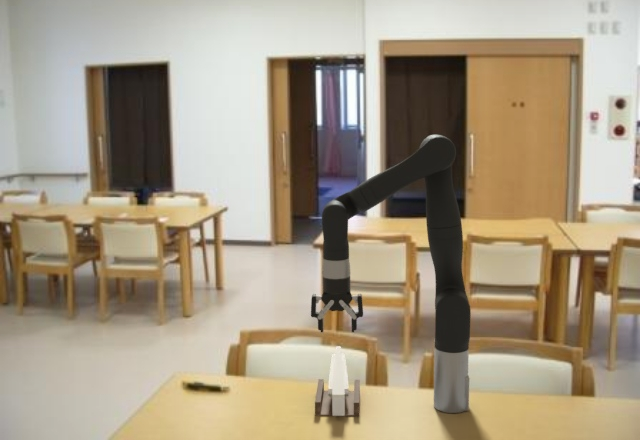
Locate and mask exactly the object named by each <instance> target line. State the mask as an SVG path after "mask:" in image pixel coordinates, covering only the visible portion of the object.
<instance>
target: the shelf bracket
mask: <svg viewBox="0 0 640 440" xmlns="http://www.w3.org/2000/svg"><path fill="white" fill-rule="evenodd" d="M330 360H331V361H330V366H329V367H330V368H329V376H328V387H327V388H328V390H327V391H328V394H329V396H332V415H333V416H332V417H346V416H345V396H349V391H350V390H349V377H348V367H347V360H346V354H345V353H343V352H342V347H341V346H340V345H339V346H337V345H335V351H334V353H331V359H330Z"/></svg>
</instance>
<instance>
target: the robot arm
mask: <svg viewBox="0 0 640 440" xmlns="http://www.w3.org/2000/svg"><path fill="white" fill-rule="evenodd" d="M456 157H457V149H456V145H455V144H454V142H453V141H452V140H451V139H450V138H449V137H446V136H444V135H442V134H430V135H428V136H427V137H426V138H424V139H423V140H422V141H421V143H420V145H419V147H418V149H417V150H416V151H415V152H413V153H412V154H411V155H410V156H408V157H407V158H406V159H404V160H402V161H401V162H399V163H398V164H396V165H394V166H391V167H389V168H387V169H385V170H384V171H382V172H378V173H377V174H375V175H373V176H372V177H370V178H368V179H366V180H364V181H363V182H361V183H359V184H358V185H357V186H355V187H353V188H352V189H351V190H349V191H347V192H345V193H343V194H341V195H339V196H337V197H335V198H333V199H332V200H330V201H329V202H327V203H326V204H325V206H323V209H322V212H321V225H322V226H321V228H322V229H321V230H322V237H323V242H322V269H321V270H322V272H321V274H322V295H318V294H315V293H313V294H312V295H311V301H310V302H311V305H310V306H311V307H310V316H311V318H315V319H317V330H318V331H320V333H324V316H325V315H326V314H327V313H328V311H330V312H343V311H345V312H346V313H347V315H349V316H350V317H351V333H355V331H357V329H358V322H357V321H358V318H362V317H364V310H363V309H364V306H363V294H362V293H358V294H356V295H355V294H353V295H352V293H351V265H350V264H351V263H350V246H349V245H350V244H349V237H348V234H349V220H350V219H352V218H353V217H355V216H356V215H358V214H360V213H364V212H367V211H369V210H370V209H372V208H374V207H376V206H378V205H379V204H381V203H383V202H384V201H386V200H387V199H388V198H390V197H392V196H394V195H395V194H397V193H398V192H400V191H402V190H403V189H404V188H406V187H408V186H409V185H411V184H414V183H416V182H417V181H419V180H421V179H423V180H424V185H425V219H426V232H427V240H428V246H429V248H428V249H429V252H430V256H431V261H432V265H433V267H434V269H433V270H434V275H435V276H434V277H435V279H434V280H435V295H434V296H435V298H434V307H435V308H434V310H435V313H434V314H435V315H434V316H435V317H434V318H435V319H434V320H435V322H434V325H435V326H434V327H435V328H434V329H435V330H434V353H433V354H434V357H433V358H434V363H433V368H434V369H433V372H434V373H433V407H434V408H435V410H438V411H439V412H442V413H448V414H459V413H462V412H468V411H469V410H470V409H469V408H470V376H469V357H470V356H469V354H470V353H469V350H470V348H469V347H470V340H471V339H470V338H471V315H472V314H471V305H470V302H469V298H468V295H467V292H466V287H465V282H464V281H465V280H464V277H463V276H464V275H463V268H462V267H463V266H462V265H463V252H464V251H463V249H464V246H463V245H464V240H463V239H464V237H463V226H462V218H461V212H460V207H459V204H458V200H457V196H456V193H455V189H454V184H453V183H454V182H453V164H454V162H455V160H456ZM320 300H321V302H322V303H323V304H324V305H323V306H322V308H321V310H320V311H319V312H317V304H319V302H320ZM352 300H353V301H354V303H355V304H357V311H355V310H354V309H353V307H352V306H351V302H352Z"/></svg>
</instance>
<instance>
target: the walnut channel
mask: <svg viewBox="0 0 640 440" xmlns="http://www.w3.org/2000/svg"><path fill="white" fill-rule="evenodd" d="M360 380H361V379H354V382H353V383H354V384H353V390H349V396H345V416H344V417H360V404H361V403H360V398H361V396H360V393H361V389H360V386H361V383H360V382H361V381H360ZM324 381H325V380H324V378H321V379H320V378H319V379H318V381H317V385H316V393H315V399H314V416H316V417H319V416H320V417H334V416H333V415H332V396H329V394H328V390H325V387H324V386H325V385H324V383H325V382H324Z"/></svg>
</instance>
